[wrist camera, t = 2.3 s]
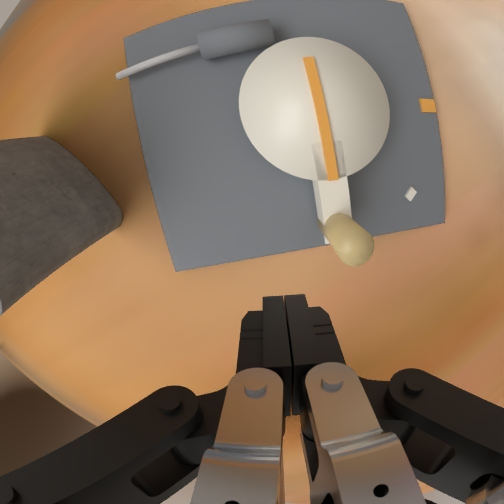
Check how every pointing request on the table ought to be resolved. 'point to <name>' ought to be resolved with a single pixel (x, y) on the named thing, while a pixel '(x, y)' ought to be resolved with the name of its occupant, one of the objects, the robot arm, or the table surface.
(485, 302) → the table surface
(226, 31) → the screwdriver
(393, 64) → the panel
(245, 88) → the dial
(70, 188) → the hip flask
